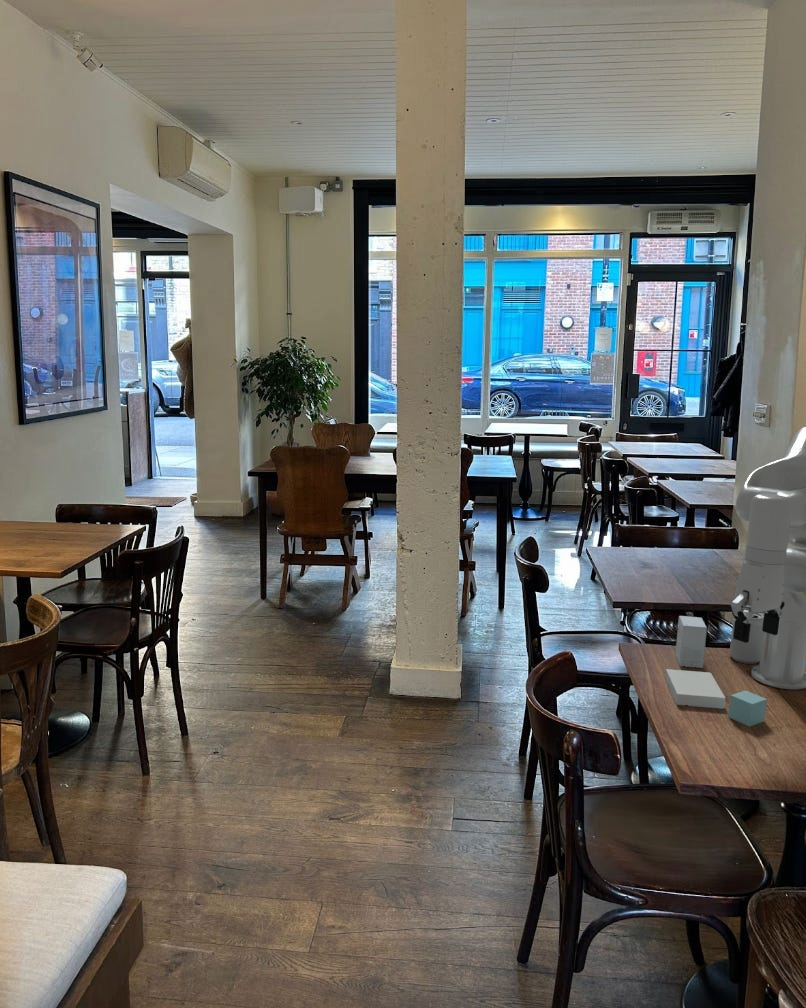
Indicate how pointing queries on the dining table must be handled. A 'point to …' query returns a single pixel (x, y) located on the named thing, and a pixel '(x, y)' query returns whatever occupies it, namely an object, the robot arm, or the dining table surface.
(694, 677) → the plate
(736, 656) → the can
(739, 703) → the teal cube
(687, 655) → the small box
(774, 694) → the dining table surface
